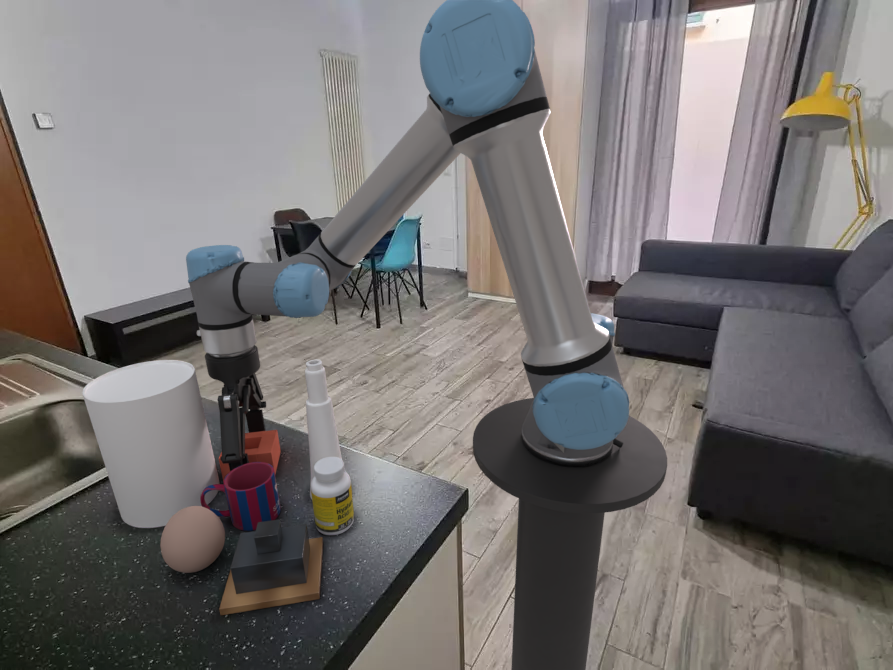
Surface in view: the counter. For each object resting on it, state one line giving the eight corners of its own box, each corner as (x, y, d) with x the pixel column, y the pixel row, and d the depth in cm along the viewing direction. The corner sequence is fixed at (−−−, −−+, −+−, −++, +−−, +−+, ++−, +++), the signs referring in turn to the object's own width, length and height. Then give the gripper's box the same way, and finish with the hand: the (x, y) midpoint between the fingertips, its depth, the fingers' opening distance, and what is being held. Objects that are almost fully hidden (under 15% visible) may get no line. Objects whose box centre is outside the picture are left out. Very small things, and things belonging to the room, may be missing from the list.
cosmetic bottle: (357, 490, 75) (344, 361, 67) (325, 511, 71) (307, 375, 63) (334, 474, 79) (319, 350, 71) (302, 493, 75) (282, 363, 67)
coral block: (280, 451, 86) (277, 429, 84) (275, 475, 79) (271, 452, 77) (233, 457, 84) (228, 434, 83) (223, 482, 78) (218, 458, 76)
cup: (278, 527, 68) (271, 487, 66) (202, 538, 66) (191, 498, 64) (283, 496, 74) (276, 458, 72) (213, 506, 72) (204, 468, 70)
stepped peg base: (323, 542, 65) (317, 497, 63) (319, 599, 57) (312, 549, 54) (237, 555, 63) (227, 509, 61) (220, 615, 55) (207, 565, 53)
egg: (155, 573, 61) (139, 520, 58) (206, 535, 67) (193, 486, 64) (192, 596, 58) (177, 541, 55) (241, 554, 64) (230, 502, 61)
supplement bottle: (342, 540, 66) (335, 480, 62) (308, 531, 67) (299, 472, 64) (361, 514, 70) (356, 457, 67) (329, 506, 72) (321, 450, 69)
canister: (97, 522, 70) (55, 399, 62) (163, 466, 82) (134, 357, 75) (182, 532, 67) (149, 405, 60) (236, 473, 80) (214, 362, 73)
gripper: (224, 323, 85) (243, 428, 92) (178, 387, 62) (208, 519, 69) (269, 320, 86) (284, 424, 94) (239, 381, 63) (263, 512, 71)
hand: (252, 465), depth 82 cm, fingers open, 13 cm apart
